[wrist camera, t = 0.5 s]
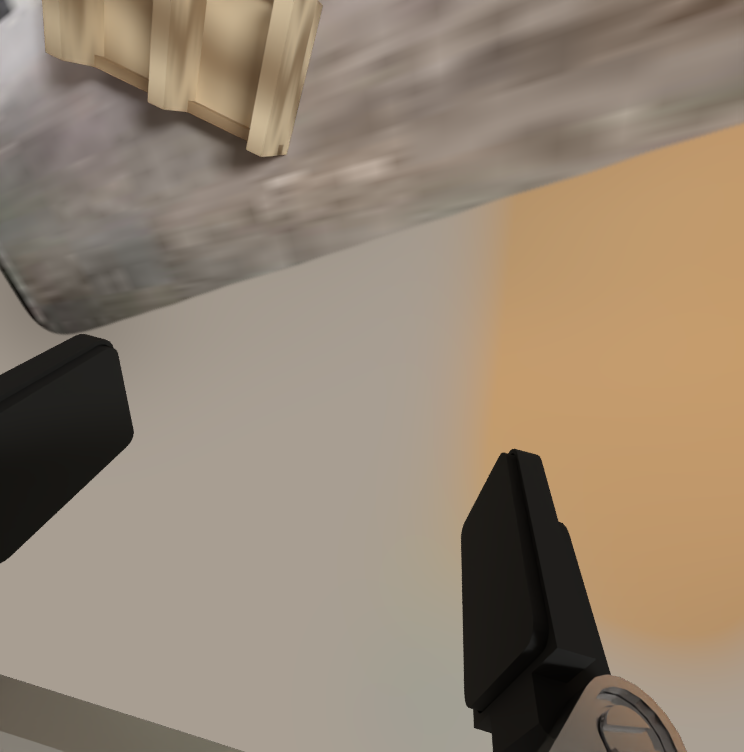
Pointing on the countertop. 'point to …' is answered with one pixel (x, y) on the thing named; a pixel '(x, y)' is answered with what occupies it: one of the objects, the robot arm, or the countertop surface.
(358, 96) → the countertop surface
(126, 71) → the rack
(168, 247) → the countertop surface
